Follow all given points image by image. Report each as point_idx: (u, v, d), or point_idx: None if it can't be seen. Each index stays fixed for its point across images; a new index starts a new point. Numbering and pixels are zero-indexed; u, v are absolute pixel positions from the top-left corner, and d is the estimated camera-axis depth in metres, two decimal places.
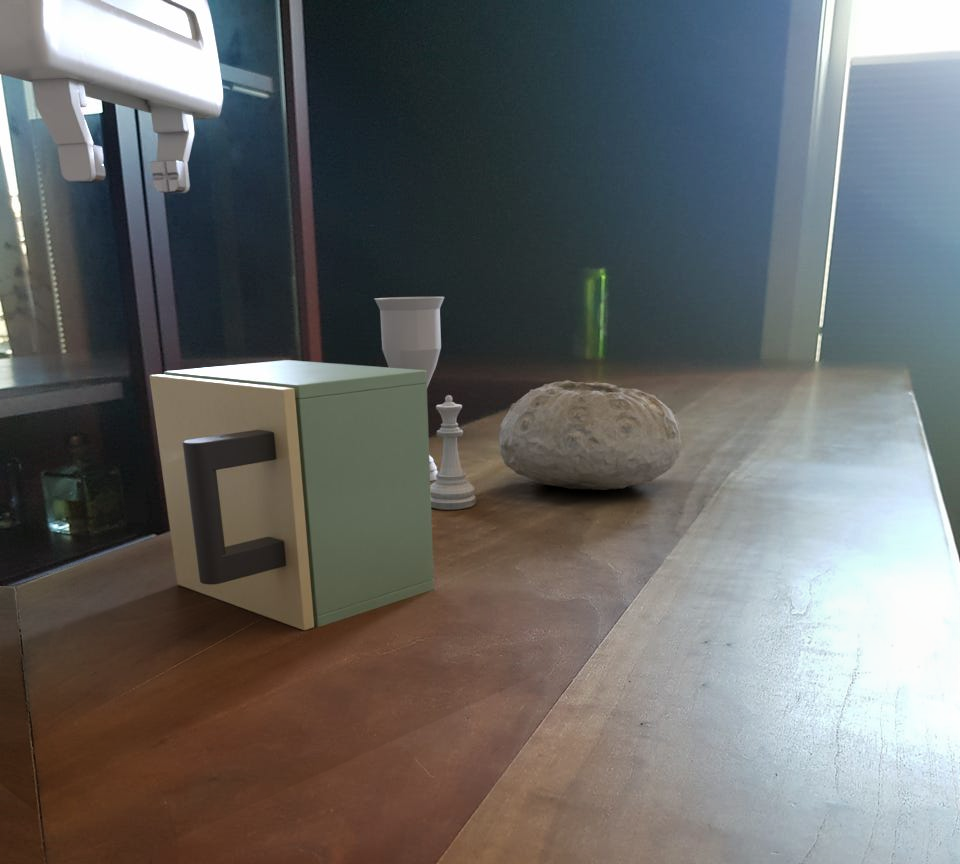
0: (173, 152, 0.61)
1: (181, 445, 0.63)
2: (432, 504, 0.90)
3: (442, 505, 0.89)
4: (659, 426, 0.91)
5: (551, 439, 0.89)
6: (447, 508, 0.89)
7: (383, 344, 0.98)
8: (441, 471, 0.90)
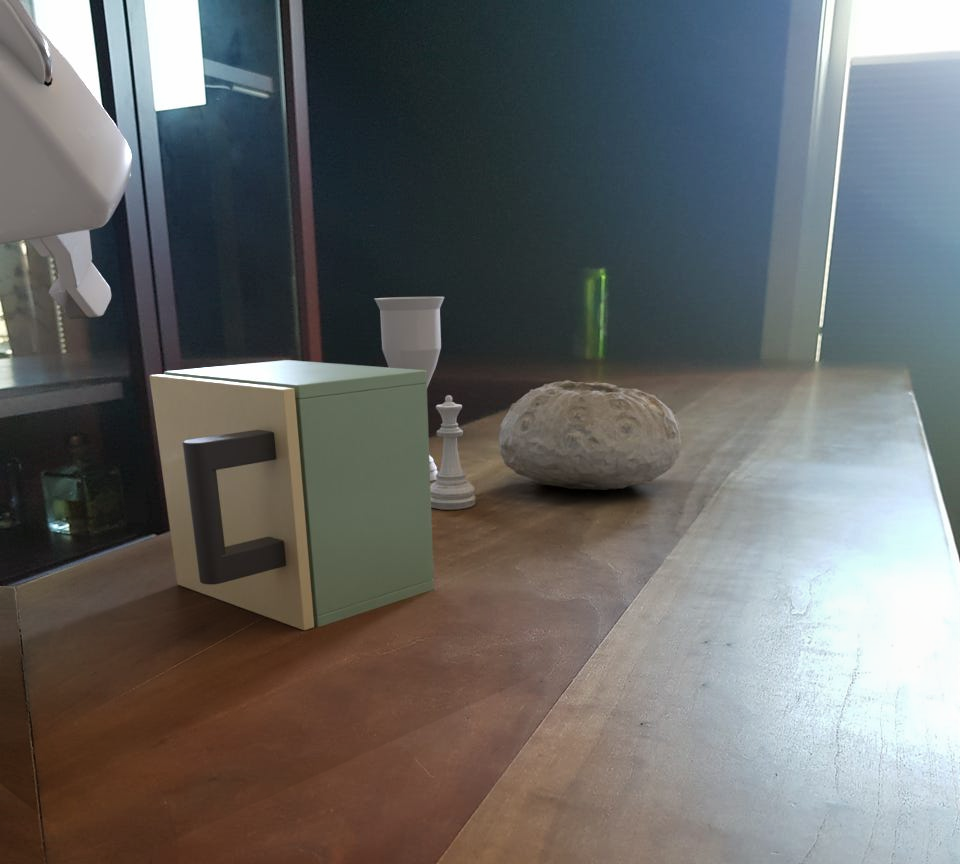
0: None
1: (181, 445, 0.63)
2: (432, 504, 0.90)
3: (442, 505, 0.89)
4: (659, 426, 0.91)
5: (551, 439, 0.89)
6: (447, 508, 0.89)
7: (383, 344, 0.98)
8: (441, 471, 0.90)
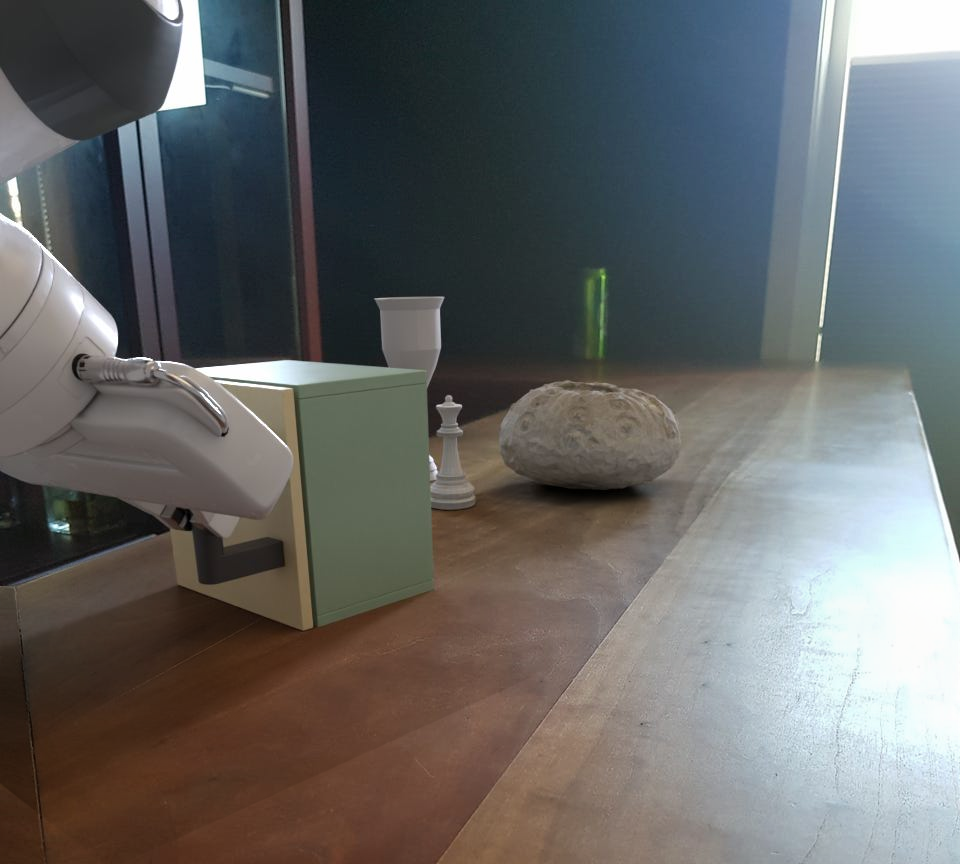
0: None
1: None
2: (432, 504, 0.90)
3: (442, 505, 0.89)
4: (659, 426, 0.91)
5: (551, 439, 0.89)
6: (447, 508, 0.89)
7: (383, 344, 0.98)
8: (441, 471, 0.90)
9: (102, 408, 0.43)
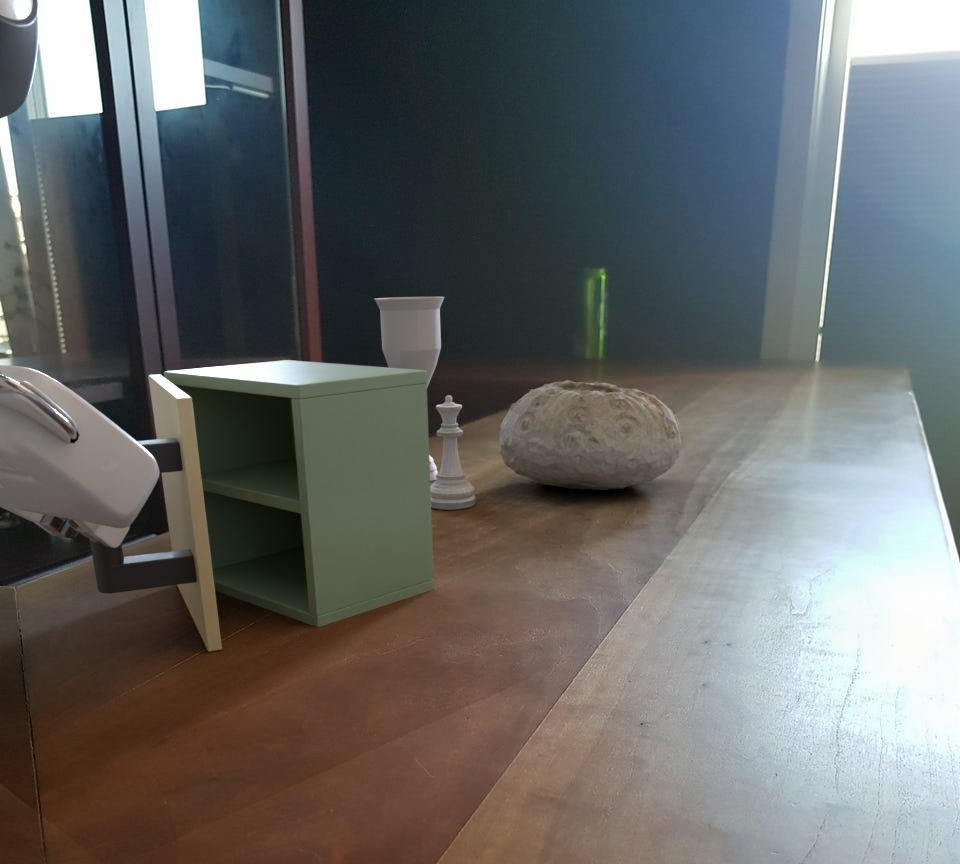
0: None
1: None
2: (432, 504, 0.90)
3: (442, 505, 0.89)
4: (659, 426, 0.91)
5: (551, 439, 0.89)
6: (447, 508, 0.89)
7: (383, 344, 0.98)
8: (441, 471, 0.90)
9: None
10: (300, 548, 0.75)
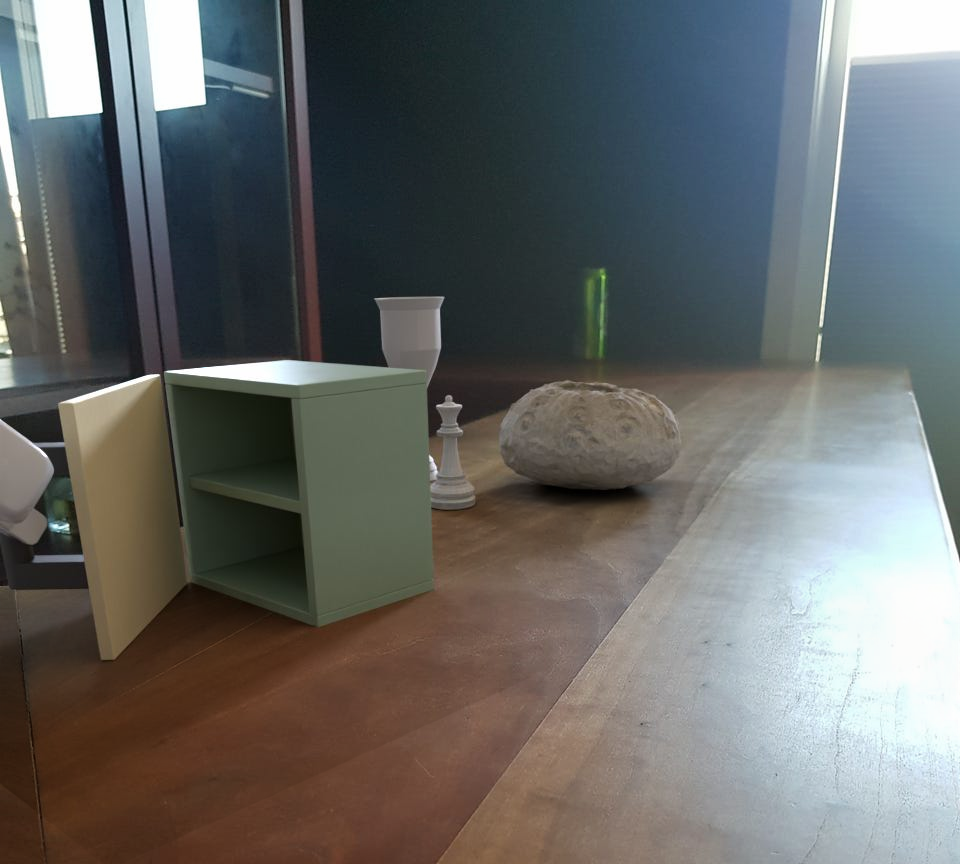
0: None
1: None
2: (432, 504, 0.90)
3: (442, 505, 0.89)
4: (659, 426, 0.91)
5: (551, 439, 0.89)
6: (447, 508, 0.89)
7: (383, 344, 0.98)
8: (441, 471, 0.90)
9: None
10: (300, 548, 0.75)
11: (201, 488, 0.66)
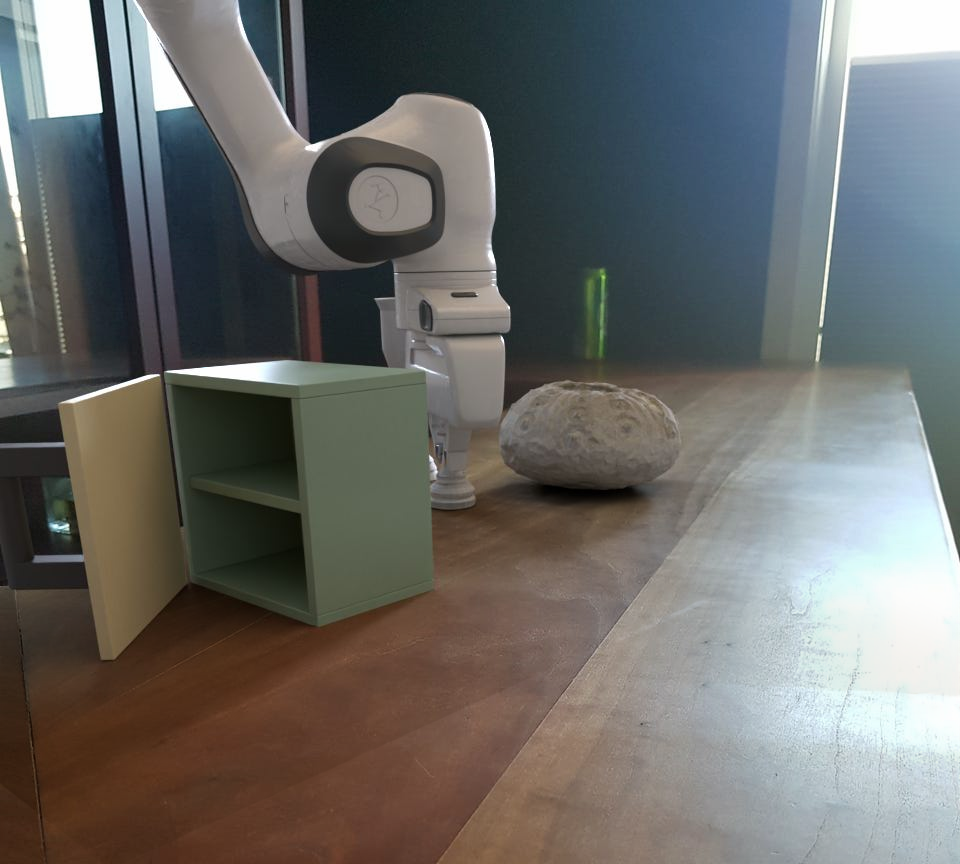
0: None
1: None
2: (432, 504, 0.90)
3: (442, 505, 0.89)
4: (659, 426, 0.91)
5: (551, 439, 0.89)
6: (447, 508, 0.89)
7: (383, 344, 0.98)
8: (441, 471, 0.90)
9: None
10: (300, 548, 0.75)
11: (201, 488, 0.66)
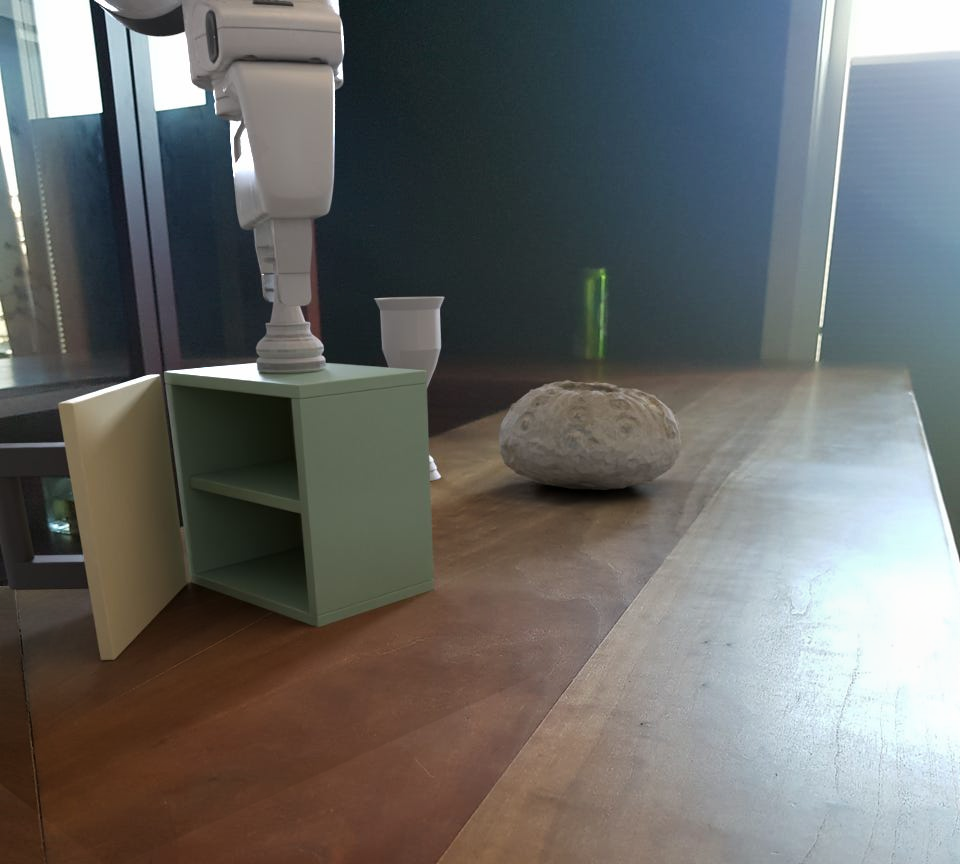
0: None
1: None
2: (260, 367, 0.62)
3: (272, 366, 0.61)
4: (659, 426, 0.91)
5: (551, 439, 0.89)
6: (280, 371, 0.61)
7: (383, 344, 0.98)
8: (272, 318, 0.62)
9: None
10: (300, 548, 0.75)
11: (201, 488, 0.66)
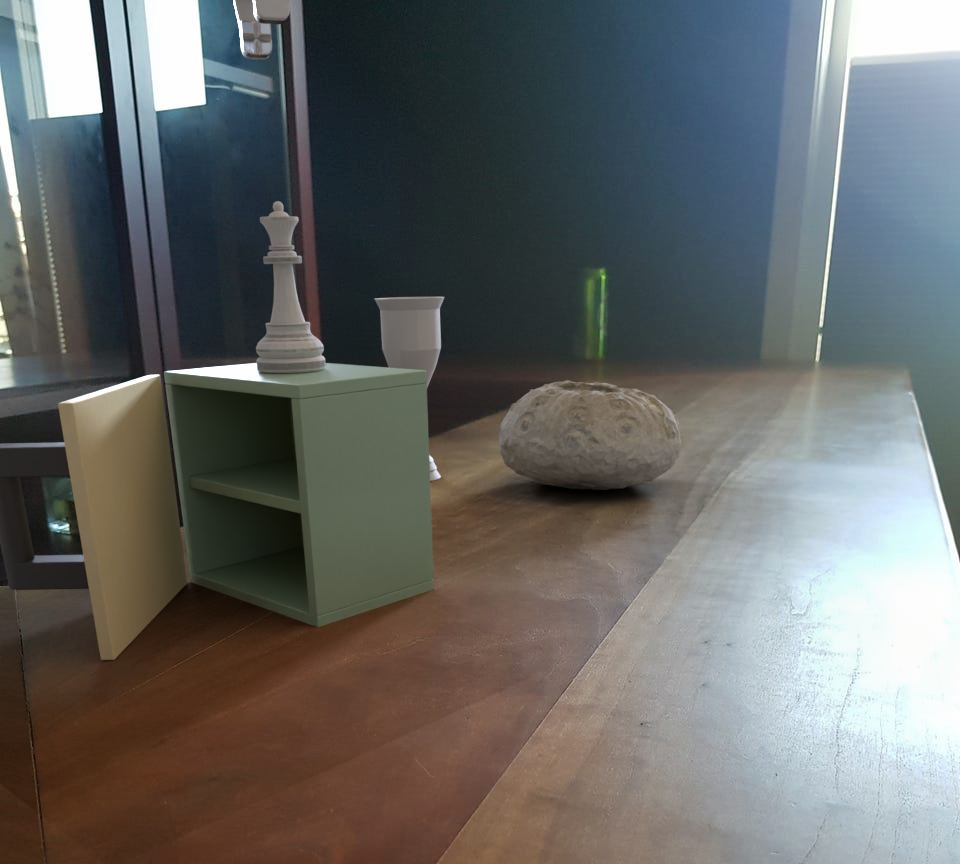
0: None
1: None
2: (260, 367, 0.62)
3: (272, 366, 0.61)
4: (659, 426, 0.91)
5: (551, 439, 0.89)
6: (280, 371, 0.61)
7: (383, 344, 0.98)
8: (272, 318, 0.62)
9: None
10: (300, 548, 0.75)
11: (201, 488, 0.66)
